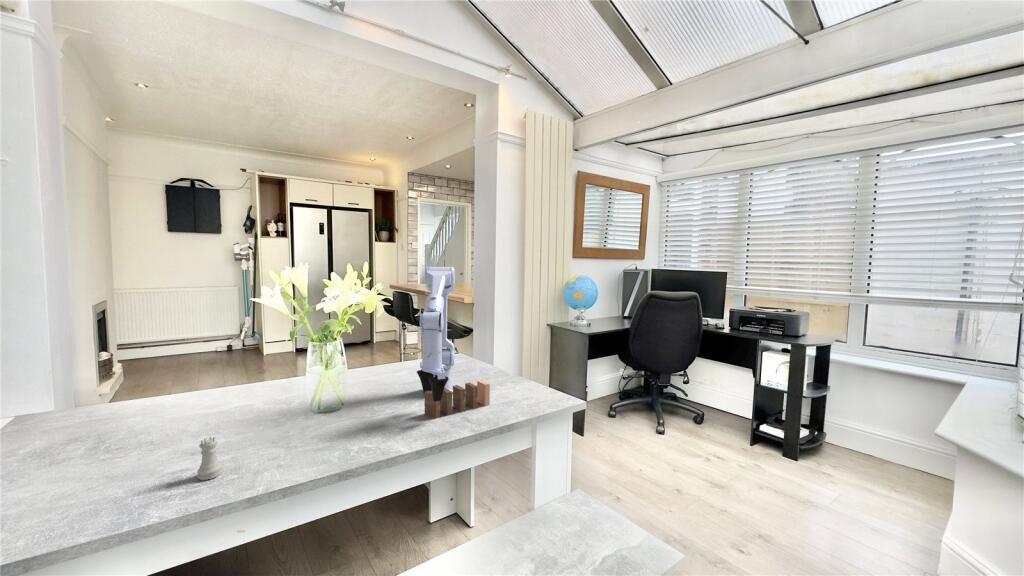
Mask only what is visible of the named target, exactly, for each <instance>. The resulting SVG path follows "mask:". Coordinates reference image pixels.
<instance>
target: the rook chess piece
mask: <svg viewBox="0 0 1024 576" xmlns="http://www.w3.org/2000/svg"><path fill="white" fill-rule="evenodd" d="M218 443H219V441H218V440H217V439H216V437H215V436H214V437H213V436H209V438H208V437H206V438H204V439H201V441H200V444H199V448H200V449H201V451H200V454H201V463H200V465H199V468H198V469H197V476H196V478H197V479H198V480H199V481H209V480H208V479H210V480H212V479H213V478H214V479H216V478H217V476H218V477H219V476H220V475H221V474H222V473H223V469H222V467H223V466H222V463H220V460H219V461H218V457H217V450H218V449H217V447H216V446H217V445H218ZM215 477H216V478H215Z"/></svg>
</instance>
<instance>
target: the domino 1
mask: <svg viewBox="0 0 1024 576" xmlns="http://www.w3.org/2000/svg"><path fill="white" fill-rule="evenodd" d="M423 394H424V416H427V417H430V418H433V419H438V418H441V411H440V401H436V402H434V400H433V395H432V391H426V392H423Z"/></svg>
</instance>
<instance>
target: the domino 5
mask: <svg viewBox="0 0 1024 576" xmlns="http://www.w3.org/2000/svg"><path fill="white" fill-rule="evenodd" d="M490 385H491V384H490V383H489V382H487V381H484V380H482V379H481V380H479V379H478V380H476V386H478V404H480V405H482V406H484V407H487V406H488V407H489V406H490V405H491V404H490V403H491V402H490V401H491V400H490V399H491V397H490V395H491V394H490V393H491V391H490V389H491V388H490Z"/></svg>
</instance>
